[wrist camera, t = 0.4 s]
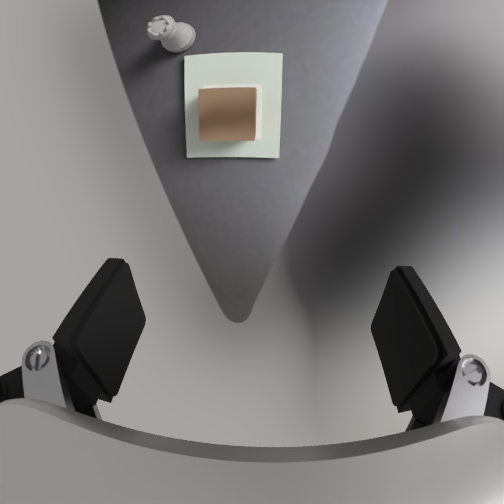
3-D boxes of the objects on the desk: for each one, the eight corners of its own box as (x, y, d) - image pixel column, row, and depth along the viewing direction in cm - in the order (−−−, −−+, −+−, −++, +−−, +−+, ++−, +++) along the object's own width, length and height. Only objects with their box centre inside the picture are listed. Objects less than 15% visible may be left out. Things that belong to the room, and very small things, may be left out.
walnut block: (207, 90, 29) (198, 88, 24) (256, 89, 28) (255, 87, 24) (208, 135, 32) (199, 141, 28) (255, 134, 32) (254, 140, 27)
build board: (186, 57, 27) (184, 56, 26) (282, 54, 27) (282, 53, 26) (189, 156, 34) (186, 157, 34) (278, 156, 34) (278, 158, 33)
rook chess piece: (165, 56, 27) (140, 49, 20) (162, 29, 24) (136, 16, 18) (198, 48, 26) (180, 36, 20) (194, 20, 24) (175, 3, 17)
